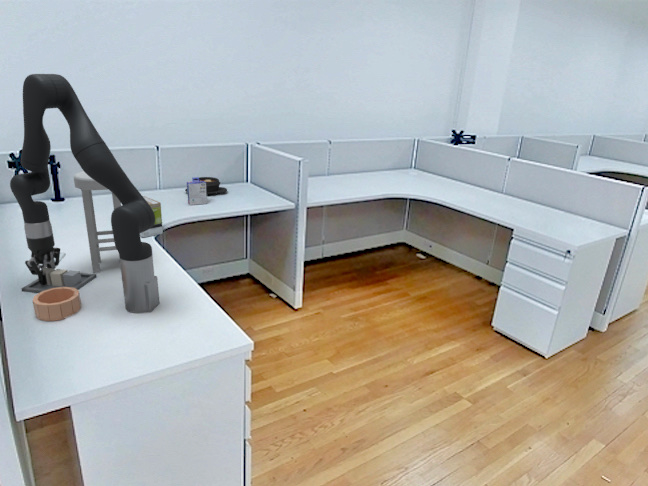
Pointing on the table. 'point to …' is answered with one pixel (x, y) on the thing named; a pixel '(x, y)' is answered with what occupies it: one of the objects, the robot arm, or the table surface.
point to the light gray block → (72, 278)
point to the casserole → (212, 185)
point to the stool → (93, 217)
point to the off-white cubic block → (58, 277)
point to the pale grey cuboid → (48, 275)
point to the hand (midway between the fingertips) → (48, 281)
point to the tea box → (158, 219)
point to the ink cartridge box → (196, 192)
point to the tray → (38, 288)
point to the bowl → (56, 303)
